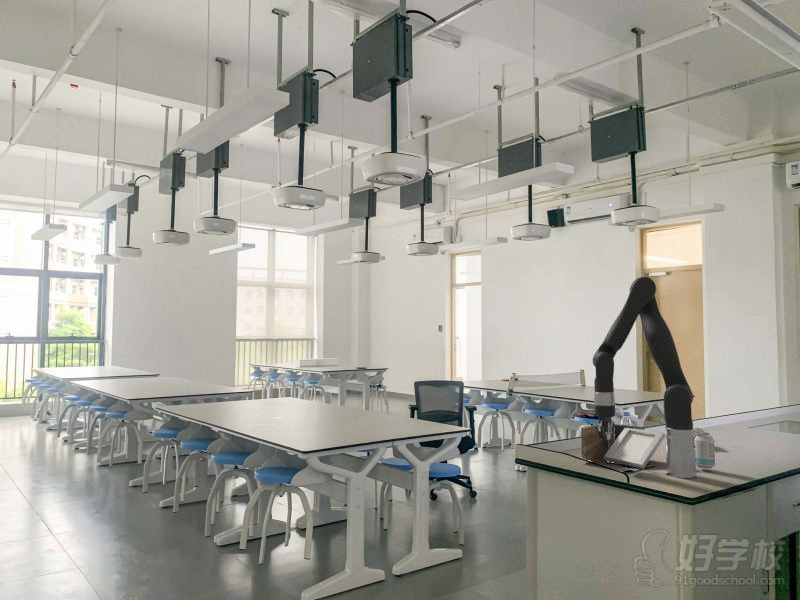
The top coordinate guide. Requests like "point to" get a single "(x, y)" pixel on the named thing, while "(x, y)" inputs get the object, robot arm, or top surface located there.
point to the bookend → (621, 427)
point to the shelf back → (593, 443)
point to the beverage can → (704, 451)
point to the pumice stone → (698, 431)
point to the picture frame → (634, 447)
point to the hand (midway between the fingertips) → (606, 449)
